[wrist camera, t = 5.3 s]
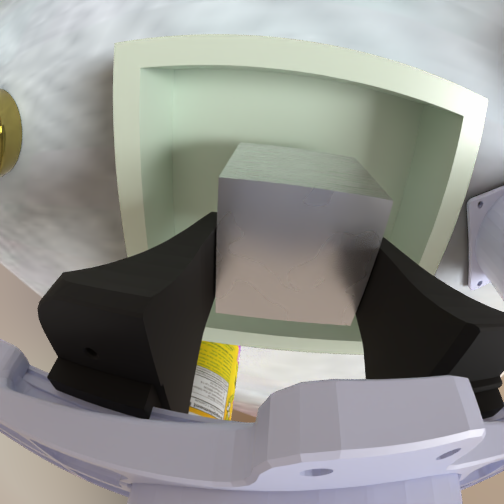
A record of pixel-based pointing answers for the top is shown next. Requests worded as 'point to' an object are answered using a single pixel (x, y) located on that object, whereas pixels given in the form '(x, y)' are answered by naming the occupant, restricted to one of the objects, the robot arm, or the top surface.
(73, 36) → the top surface
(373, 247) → the steel block
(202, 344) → the supplement bottle
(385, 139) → the tote
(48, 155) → the top surface
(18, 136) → the brass calibration weight
